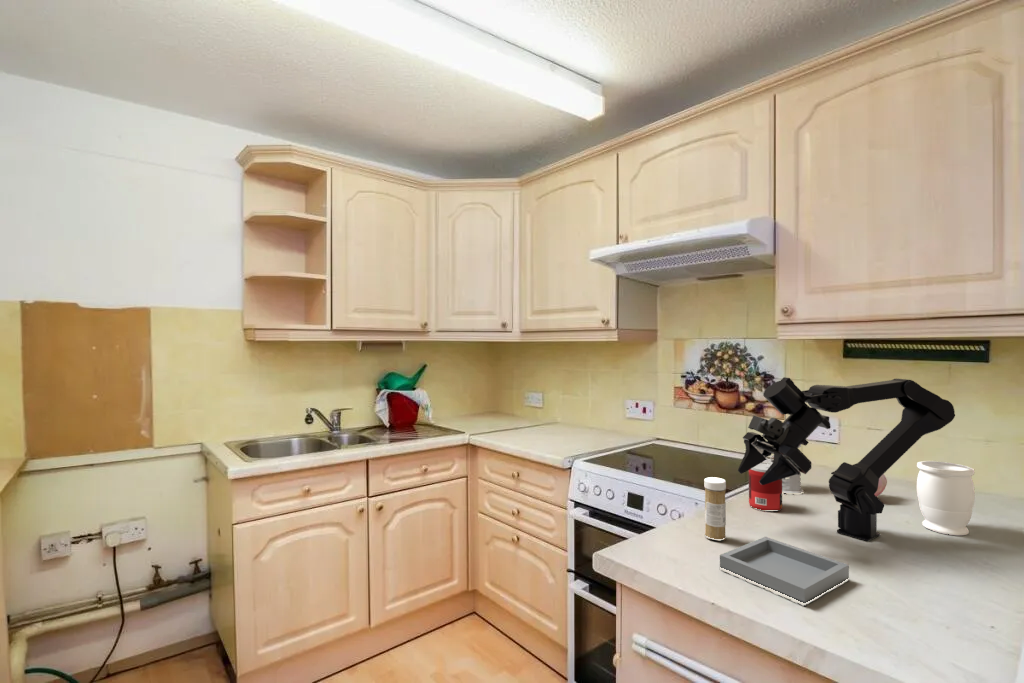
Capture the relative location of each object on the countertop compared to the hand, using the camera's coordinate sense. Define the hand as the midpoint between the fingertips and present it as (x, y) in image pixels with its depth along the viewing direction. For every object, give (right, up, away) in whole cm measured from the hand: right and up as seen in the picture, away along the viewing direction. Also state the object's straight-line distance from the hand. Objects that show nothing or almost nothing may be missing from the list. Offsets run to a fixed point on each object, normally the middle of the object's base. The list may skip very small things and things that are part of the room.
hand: (749, 477), depth 113 cm
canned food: (+14, -14, +20) cm, 28 cm away
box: (-2, -14, -18) cm, 23 cm away
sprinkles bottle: (-8, -14, 0) cm, 16 cm away
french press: (+27, -13, +36) cm, 47 cm away
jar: (+48, -13, +4) cm, 50 cm away
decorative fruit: (+45, -13, +26) cm, 54 cm away
